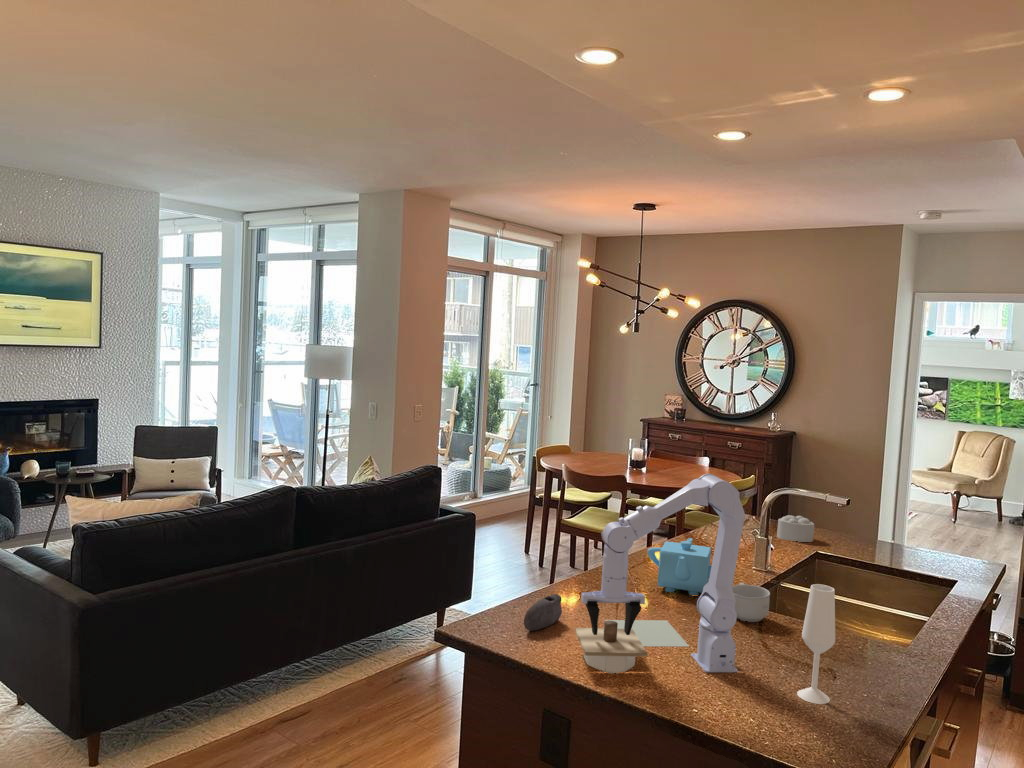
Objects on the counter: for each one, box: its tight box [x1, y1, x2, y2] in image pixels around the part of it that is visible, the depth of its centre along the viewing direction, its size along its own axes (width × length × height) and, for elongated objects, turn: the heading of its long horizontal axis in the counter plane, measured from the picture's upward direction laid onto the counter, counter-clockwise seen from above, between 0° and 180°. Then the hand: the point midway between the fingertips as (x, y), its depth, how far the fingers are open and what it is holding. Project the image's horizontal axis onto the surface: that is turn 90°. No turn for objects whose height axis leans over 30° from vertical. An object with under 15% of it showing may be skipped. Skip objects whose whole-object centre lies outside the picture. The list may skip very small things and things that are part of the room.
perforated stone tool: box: [523, 593, 563, 632], centre depth 200 cm, size 15×5×7 cm, turn 141°
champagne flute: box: [796, 583, 836, 705], centre depth 168 cm, size 7×7×24 cm
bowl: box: [583, 653, 636, 674], centre depth 180 cm, size 11×11×4 cm
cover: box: [574, 620, 648, 658], centre depth 180 cm, size 14×14×5 cm
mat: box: [604, 619, 690, 648], centre depth 198 cm, size 17×17×1 cm
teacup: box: [732, 582, 771, 623], centre depth 215 cm, size 14×11×8 cm
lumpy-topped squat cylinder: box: [776, 514, 815, 543], centre depth 305 cm, size 10×13×9 cm
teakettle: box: [646, 537, 712, 596], centre depth 235 cm, size 19×19×15 cm
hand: (610, 633), depth 179 cm, fingers open, 7 cm apart
